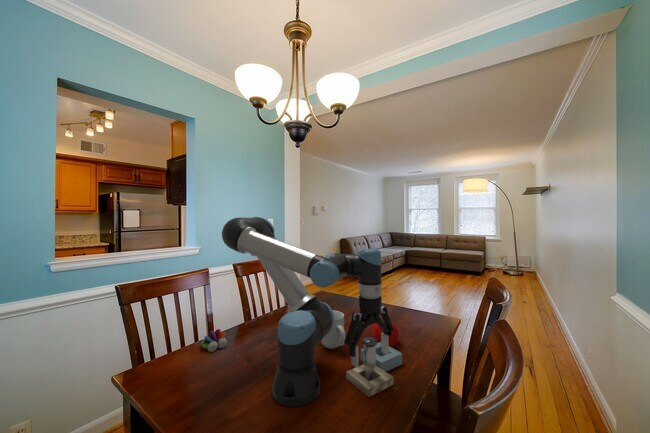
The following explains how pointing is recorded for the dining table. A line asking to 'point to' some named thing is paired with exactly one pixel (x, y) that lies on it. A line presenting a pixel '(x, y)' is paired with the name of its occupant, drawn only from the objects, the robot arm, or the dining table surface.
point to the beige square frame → (369, 387)
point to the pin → (369, 358)
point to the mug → (335, 332)
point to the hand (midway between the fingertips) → (370, 359)
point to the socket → (385, 358)
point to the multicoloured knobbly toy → (214, 340)
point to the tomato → (377, 332)
